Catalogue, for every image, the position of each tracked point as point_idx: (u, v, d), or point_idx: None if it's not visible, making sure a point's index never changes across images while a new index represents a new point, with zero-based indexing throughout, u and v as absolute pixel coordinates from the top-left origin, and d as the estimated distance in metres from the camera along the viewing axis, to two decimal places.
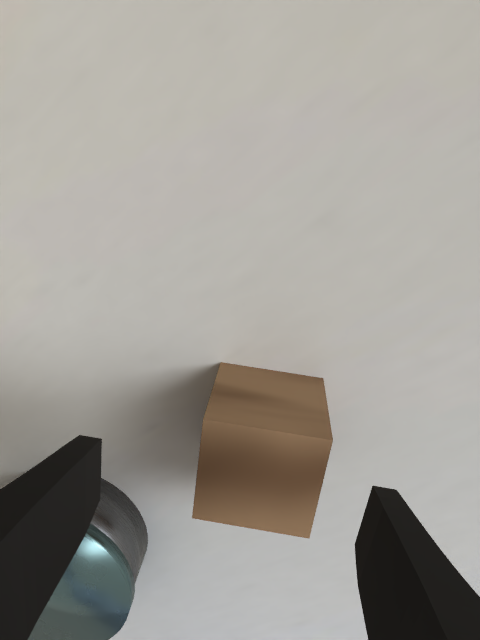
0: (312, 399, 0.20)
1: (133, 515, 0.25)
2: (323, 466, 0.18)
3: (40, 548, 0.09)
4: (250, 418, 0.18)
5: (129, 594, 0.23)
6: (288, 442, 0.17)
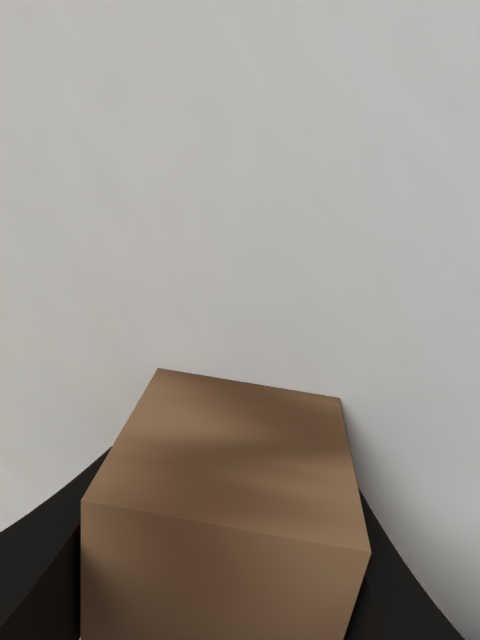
0: None
1: None
2: (150, 519, 0.08)
3: None
4: None
5: None
6: (104, 573, 0.08)
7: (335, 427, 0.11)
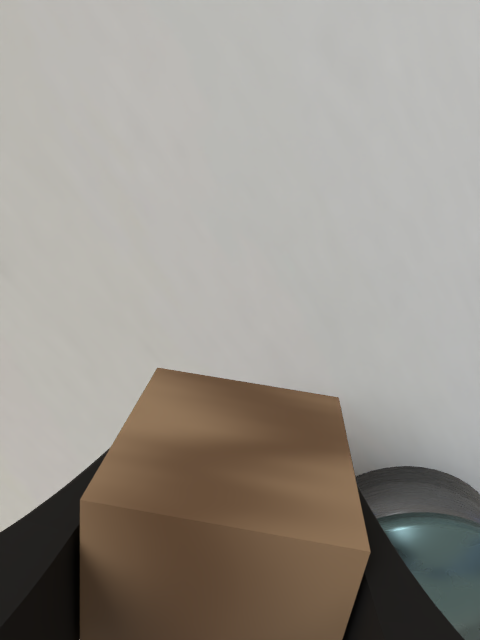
0: None
1: (366, 481, 0.21)
2: (150, 517, 0.08)
3: None
4: None
5: (433, 527, 0.17)
6: (103, 572, 0.08)
7: (334, 426, 0.11)
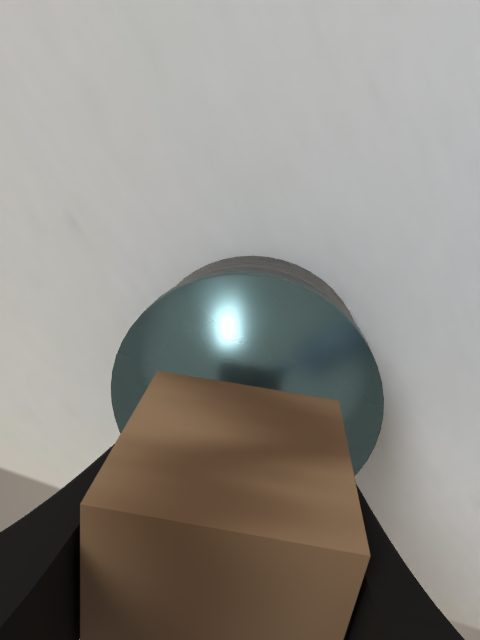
0: None
1: (200, 270, 0.17)
2: (150, 522, 0.08)
3: None
4: None
5: (240, 275, 0.14)
6: (103, 576, 0.08)
7: (334, 429, 0.11)
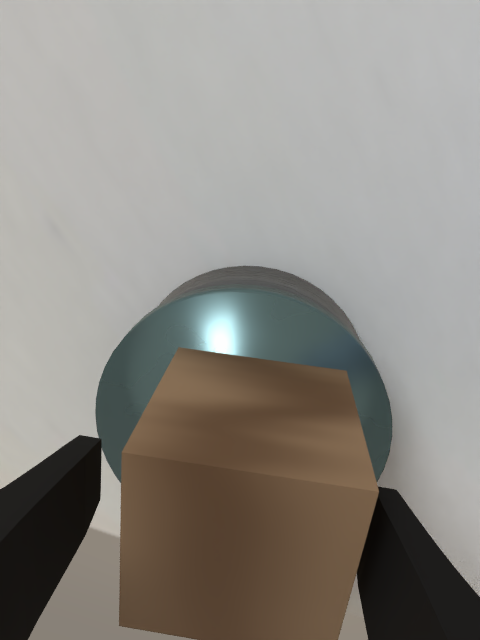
0: None
1: (188, 283, 0.16)
2: (184, 467, 0.09)
3: (40, 548, 0.09)
4: None
5: (231, 292, 0.13)
6: (142, 519, 0.09)
7: (344, 394, 0.12)
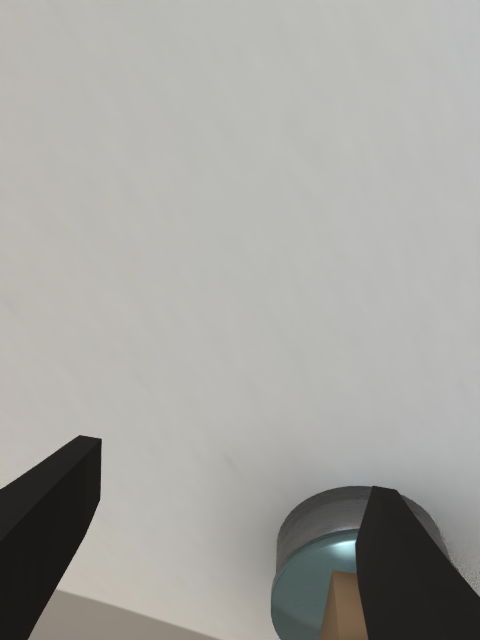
0: (334, 626, 0.19)
1: (321, 499, 0.23)
2: None
3: (40, 548, 0.09)
4: None
5: None
6: None
7: None
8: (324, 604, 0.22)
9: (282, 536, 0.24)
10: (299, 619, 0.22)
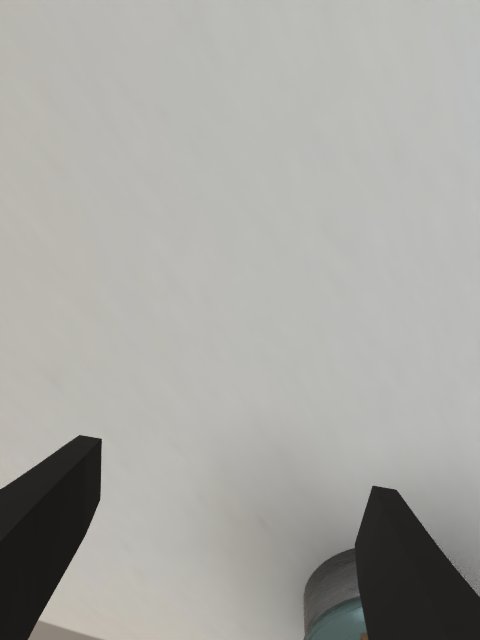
0: None
1: (347, 558, 0.25)
2: None
3: (40, 548, 0.09)
4: None
5: None
6: None
7: None
8: None
9: (310, 592, 0.25)
10: None
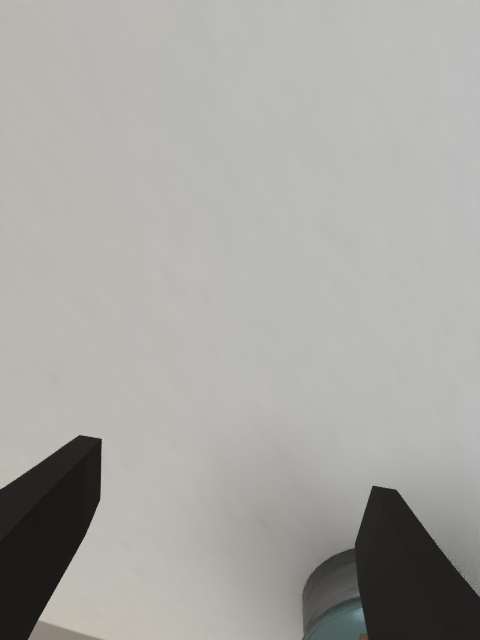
0: None
1: (346, 558, 0.25)
2: None
3: (40, 548, 0.09)
4: None
5: None
6: None
7: None
8: None
9: (309, 592, 0.25)
10: None
